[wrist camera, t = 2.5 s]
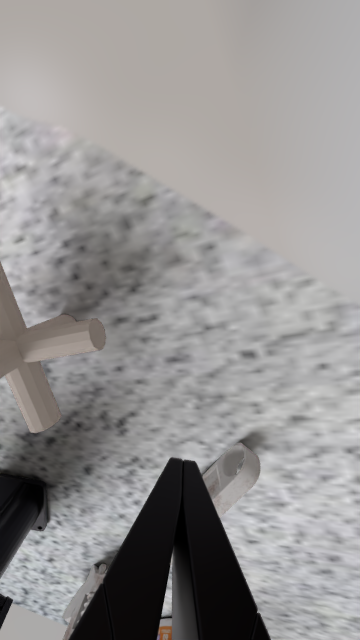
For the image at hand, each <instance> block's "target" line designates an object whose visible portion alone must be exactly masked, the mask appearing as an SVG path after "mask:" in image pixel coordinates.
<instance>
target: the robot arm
mask: <svg viewBox="0 0 360 640" xmlns="http://www.w3.org/2000/svg"><path fill="white" fill-rule="evenodd" d="M46 526H47V495H46V484H45V482H43V481H39V480H33V479H28V478H22V477H17V476H11V475H5V474H0V578H1V577H2V575H3V573H4V572H5V570H6V569H7V567H8V565H9V564H10V562H11V560H12V559H13V557H14V555H15V554H16V552H17V551H18V549H19V547H20V546H21V544H22V542H23V541H24V539H25V538H26V536H27V534H28V533H29V531H30V529H31V530H36V531H44V529H45V528H46ZM172 553H173V555H172ZM171 559H172V640H271V638H270V636H269V634H268V631H267V629H266V627H265V624H264V622H263V619H262V617H261V615H260V613H257V611H258V608H257V606H256V603H255V601H254V598H253V596H252V594H251V591H250V589H249V587H248V584H247V582H246V579H245V577H244V575H243V572H242V570H241V568H240V565H239V563H238V560H237V558H236V556H235V553H234V551H233V549H232V546H231V544H230V541H229V539H228V537H227V534H226V532H225V530H224V527H223V525H222V522H221V520H220V518H219V515H218V513H217V511H216V508H215V506H214V503H213V501H212V499H211V496H210V494H209V492H208V489H207V487H206V484H205V482H204V480H203V477H202V475H201V473H200V470H199V468H198V465H197V463H196V462H195V461H191V460H184V461H183V460H182V459H179V458H174V457H171V458H170V459H169V461H168V463H167V465H166V466H165V468H164V470H163V472H162V474H161V475H160V477H159V479H158V481H157V483H156V484H155V486H154V488H153V490H152V492H151V493H150V495H149V497H148V499H147V501H146V502H145V504H144V506H143V508H142V510H141V511H140V513H139V515H138V517H137V519H136V520H135V522H134V524H133V526H132V528H131V529H130V531H129V533H128V535H127V537H126V538H125V540H124V542H123V544H122V546H121V547H120V549H119V551H118V553H117V555H116V556H115V558H114V560H113V562H112V564H111V565H110V567H109V569H108V571H107V573H106V574H105V576H104V578H103V582H102V583H101V584H100V585H99V587H98V588H97V590H96V592H95V594H94V596H93V597H92V599H91V601H90V603H89V605H88V606H87V608H86V610H85V611H84V613H83V615H82V617H81V618H80V620H79V622H78V623H77V625H76V627H75V629H74V630H73V632H72V634H71V635H70V637H69V639H68V640H157V637H158V631H159V626H160V620H161V615H162V609H163V603H164V598H165V592H166V587H167V581H168V576H169V570H170V564H171ZM12 602H13V599H11V598H10V597H8V596H7V597H5V596H3V595H2V594H0V629H1V626H2V624H3V622H4V620H5V617H6V615H7V613H8V611H9V608H10V606H11V604H12Z"/></svg>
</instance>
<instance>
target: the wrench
mask: <svg viewBox="0 0 360 640" xmlns="http://www.w3.org/2000/svg"><path fill="white" fill-rule="evenodd" d="M243 458H244V463H243V465H242V468H241V469H240V471H239V472H238V474H236V472H237V468H238V465H239V463H240V462H241V461H242V459H243ZM259 474H260V460H259V458H258V456H257V455H256V454H255V453H254V452H252V451H251V450H250V449H248V448H247V447H246V446H245V445H243V444H242V443H236V444H235V445H234V446H232V447H231V448H230V449H229V450H228V451H226V452H225V453H224V454H223V455H222V456H221V457H220V458H219V459H218V460H217V461H216V462H215V463H214V464H213V465H212V466H211V467H210V468H209V469H208V470H207V471H206V473H205V474H204V475H203V476H202V477H203V480H204V482H205V484H206V487H207V489H208V492H209V494H210V496H211V499H212V501H213V503H214V506H215V508H216V511H217V513H218V515H219V518H220V517H221V516H222V515H223V514H224V513H226V512H227V511H228V510H229V509H230V508H231V507H232V506H233V505H234V504H235V503H236V502H237V501H238V500H239V499H240V498H241V497H242V496H243V495H244V494H245V493H246V492H247V491H248V490H250V489H251V488H252V487H253V485H254V484H255V483H256V481H257V479H258V477H259ZM172 555H173V553H172ZM171 564H172V559H171ZM171 564H170V565H171ZM105 569H106V564H101V565H100V567H99V568H98V567H97V566H95V565H93V566H92V568H91V570H90V573H89V575H88V578H87V580H86V582H85V583H84V584H83V585H82V586H81V587H80V589H79V590H78V592H77V593H76V594H75V596H74V597H73V599H72V600H71V602H70V603H69V605H68V606H67V608H66V609H65V611H64V614H63V616H62V618H63V619H64V620H66V621H68V622H69V625H68V627H67V630H66V632H65V635H64V637H63V640H68V639H69V637H70V635H71V634H72V632H73V630H74V629H75V627H76V625H77V623H78V622H79V620H80V618H81V617H82V615H83V613H84V611H85V610H86V608H87V606H88V605H89V603H90V601H91V599H92V597H93V596H94V594H95V592H96V590H97V588H98V587H99V585H100V584H101V583H102V582H103V578H104V576H105Z"/></svg>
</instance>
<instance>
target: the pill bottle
mask: <svg viewBox="0 0 360 640" xmlns="http://www.w3.org/2000/svg"><path fill="white" fill-rule="evenodd" d="M157 640H172V618H165V619H161V620H160V626H159V631H158V637H157Z"/></svg>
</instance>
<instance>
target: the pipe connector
mask: <svg viewBox="0 0 360 640" xmlns="http://www.w3.org/2000/svg"><path fill="white" fill-rule="evenodd" d="M105 340H106V336H105V330H104V327H103V325H102V323H101V322H100V321H99V320H98V319H88V320H83V321H78V322H76V321H75V319H74V318H73V317H71V316H69V315H66V314H64V315H60V316H57V317H55V318H52V319H50V320H47V321H45V322H42V323H40V324H37V325H35V326H32V327H30V328H27V327H26V325H25V322H24V320H23V317H22V315H21V312H20V310H19V307H18V305H17V302H16V300H15V297H14V295H13V292H12V290H11V287H10V285H9V282H8V280H7V277H6V275H5V272H4V270H3V267H2V265H1V262H0V378H1V377H3V376H5V377H6V379H7V381H8V383H9V385H10V388H11V390H12V392H13V394H14V397H15V399H16V401H17V403H18V406H19V408H20V410H21V412H22V415H23V417H24V419H25V421H26V423H27V426H28V428H29V430H30V432H31V433H38V432H41V431H44V430H46V429H48V428H50V427H52V426H53V425H54V424H55V423H57V422H58V421H59V420H60V418H61V416H62V415H61V413H60V410H59V408H58V405H57V403H56V400H55V398H54V395H53V393H52V390H51V388H50V385H49V383H48V380H47V378H46V375H45V373H44V370H43V368H42V365H41V363H40V361H41V360H47V359H52V358H58V357H63V356H69V355H75V354H80V353H86V352H91V351H97V350H101V349H103V347H104V345H105Z"/></svg>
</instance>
